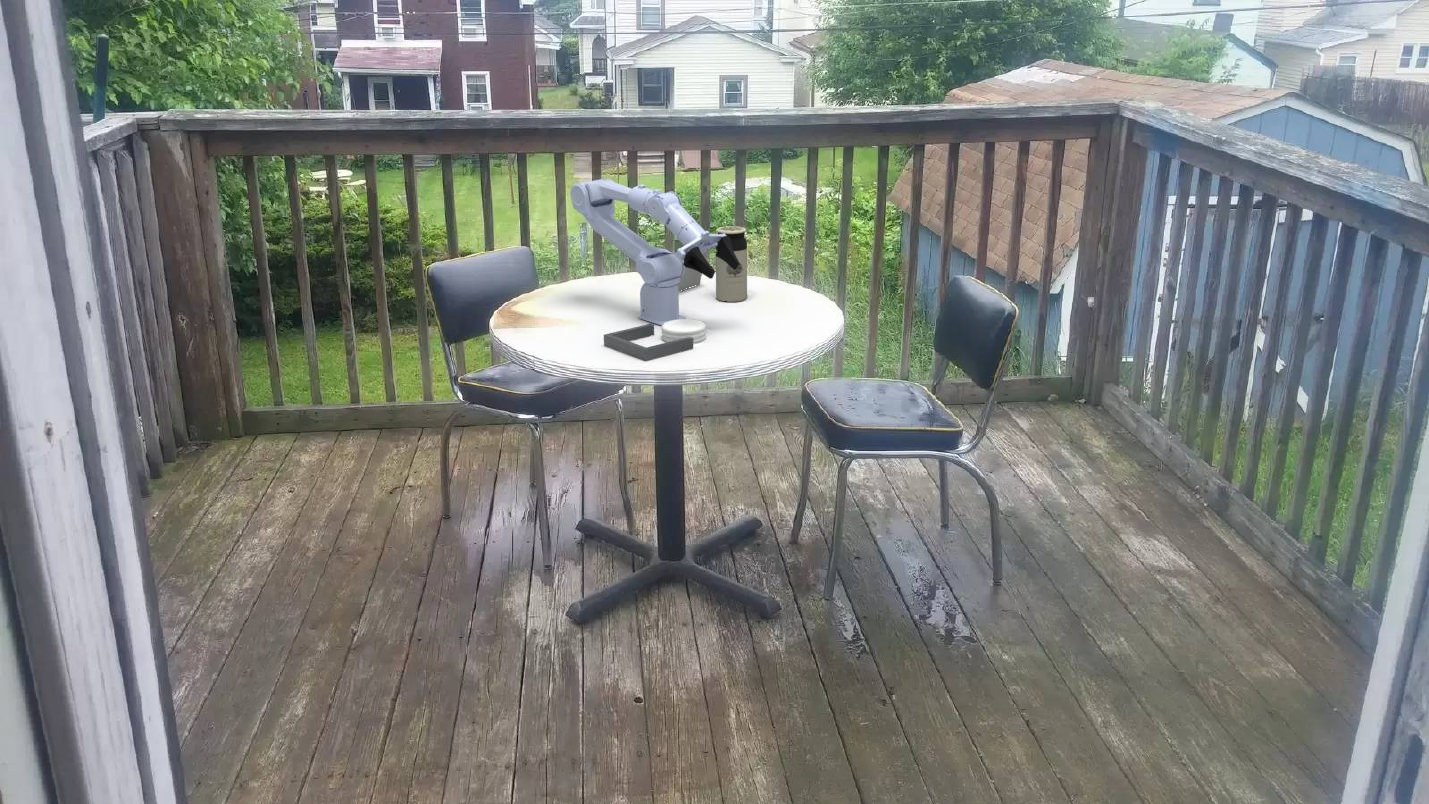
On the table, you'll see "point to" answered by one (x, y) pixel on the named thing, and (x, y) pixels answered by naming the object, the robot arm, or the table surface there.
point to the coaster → (683, 330)
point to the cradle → (623, 344)
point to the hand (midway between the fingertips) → (725, 270)
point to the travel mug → (727, 279)
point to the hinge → (689, 279)
